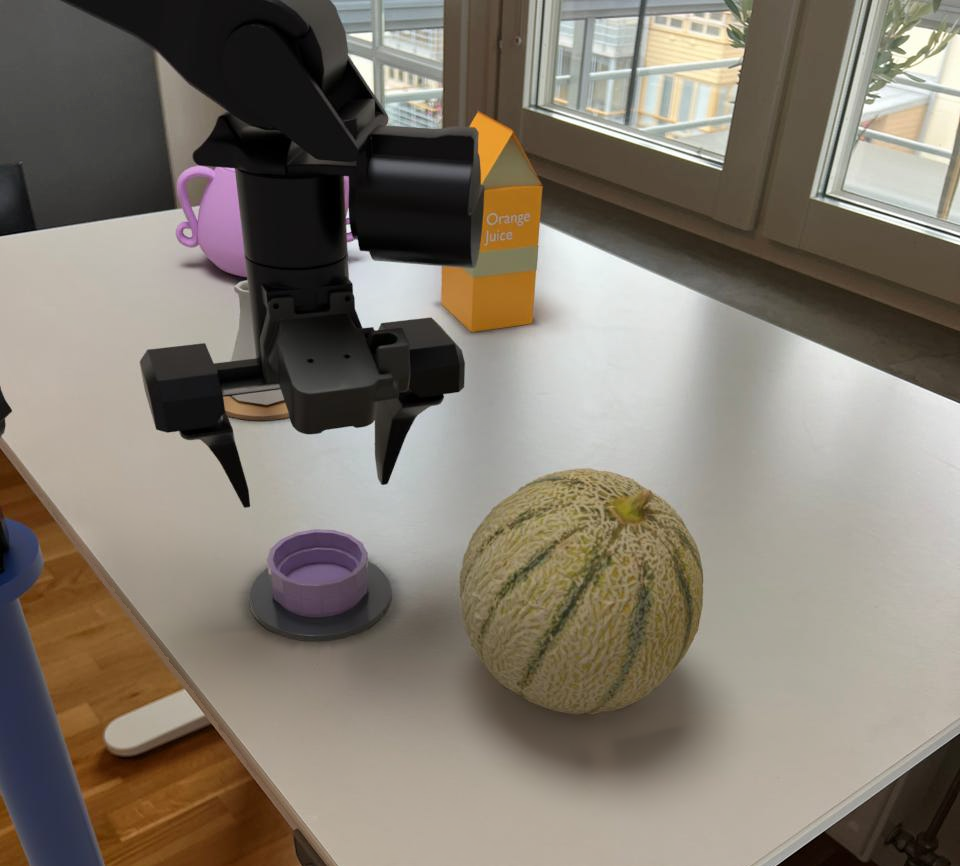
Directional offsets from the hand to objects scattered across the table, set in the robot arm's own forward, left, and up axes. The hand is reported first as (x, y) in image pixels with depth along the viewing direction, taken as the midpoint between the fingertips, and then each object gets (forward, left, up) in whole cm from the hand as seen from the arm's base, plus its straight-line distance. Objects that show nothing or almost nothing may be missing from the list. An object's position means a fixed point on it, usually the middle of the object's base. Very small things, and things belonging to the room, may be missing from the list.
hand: (315, 493), depth 65 cm
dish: (0, 0, -8) cm, 8 cm away
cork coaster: (+3, +33, -9) cm, 34 cm away
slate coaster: (0, 0, -9) cm, 9 cm away
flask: (+3, +33, -8) cm, 34 cm away
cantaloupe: (+13, -14, -9) cm, 21 cm away
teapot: (+11, +66, -9) cm, 68 cm away
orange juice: (+31, +46, -9) cm, 56 cm away
